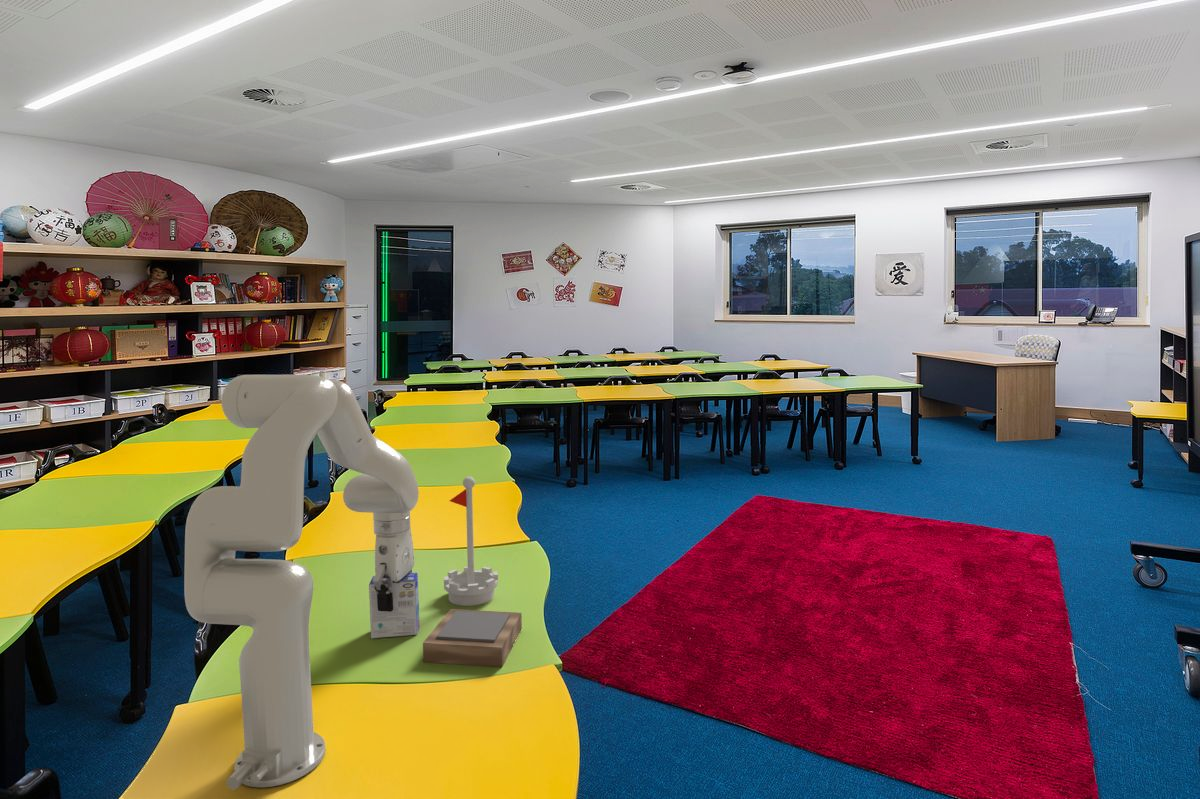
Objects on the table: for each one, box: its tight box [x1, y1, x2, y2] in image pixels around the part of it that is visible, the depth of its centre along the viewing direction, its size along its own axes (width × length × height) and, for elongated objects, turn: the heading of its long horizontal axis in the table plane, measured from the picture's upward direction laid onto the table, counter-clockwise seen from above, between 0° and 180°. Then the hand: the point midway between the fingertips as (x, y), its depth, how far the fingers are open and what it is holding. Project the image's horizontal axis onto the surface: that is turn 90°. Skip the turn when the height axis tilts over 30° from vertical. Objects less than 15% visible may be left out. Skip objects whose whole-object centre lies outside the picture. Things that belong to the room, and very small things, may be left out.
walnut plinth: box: [422, 608, 523, 668], centre depth 141 cm, size 16×16×4 cm
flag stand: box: [443, 476, 499, 607], centre depth 165 cm, size 13×13×30 cm
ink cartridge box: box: [368, 572, 421, 639], centre depth 147 cm, size 10×6×14 cm, turn 101°
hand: (395, 601), depth 147 cm, fingers open, 9 cm apart
